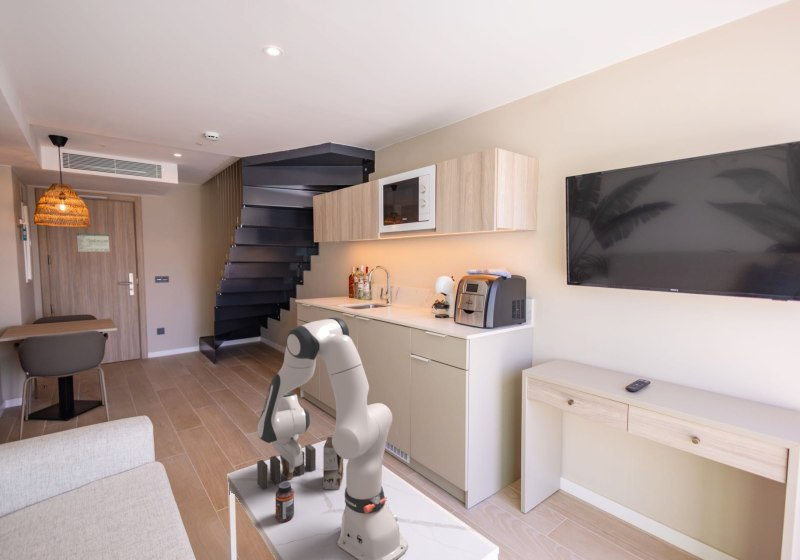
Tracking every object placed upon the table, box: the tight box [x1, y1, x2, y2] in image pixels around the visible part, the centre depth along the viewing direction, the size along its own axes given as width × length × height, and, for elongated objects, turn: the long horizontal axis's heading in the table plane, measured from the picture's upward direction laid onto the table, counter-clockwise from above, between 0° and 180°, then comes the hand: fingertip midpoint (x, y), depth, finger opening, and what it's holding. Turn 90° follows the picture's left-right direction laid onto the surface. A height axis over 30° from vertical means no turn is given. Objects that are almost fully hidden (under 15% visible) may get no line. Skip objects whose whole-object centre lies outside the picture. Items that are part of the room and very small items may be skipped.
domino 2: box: [269, 455, 282, 486], centre depth 152 cm, size 5×2×9 cm, turn 40°
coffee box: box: [322, 436, 344, 490], centre depth 152 cm, size 9×6×16 cm
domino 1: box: [256, 459, 269, 491], centre depth 149 cm, size 5×2×9 cm, turn 41°
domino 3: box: [281, 457, 294, 480], centre depth 155 cm, size 5×2×9 cm, turn 41°
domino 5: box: [304, 443, 317, 473], centre depth 162 cm, size 5×2×9 cm, turn 41°
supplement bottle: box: [274, 480, 295, 523], centre depth 131 cm, size 6×6×11 cm
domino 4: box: [293, 450, 305, 477], centre depth 159 cm, size 5×2×9 cm, turn 40°
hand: (287, 468), depth 155 cm, fingers closed on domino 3, 5 cm apart
